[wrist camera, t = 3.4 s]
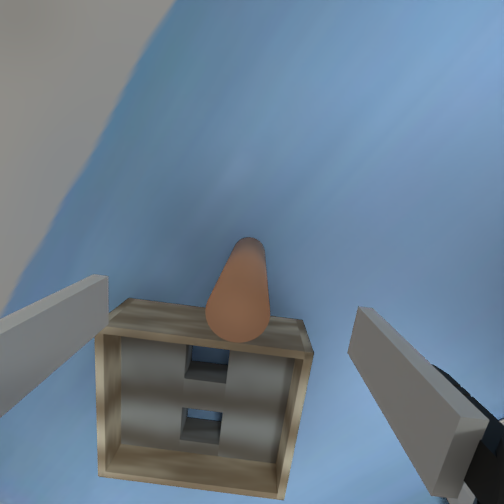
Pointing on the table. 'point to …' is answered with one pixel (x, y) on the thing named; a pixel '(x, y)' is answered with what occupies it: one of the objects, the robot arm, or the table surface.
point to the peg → (241, 295)
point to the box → (198, 401)
